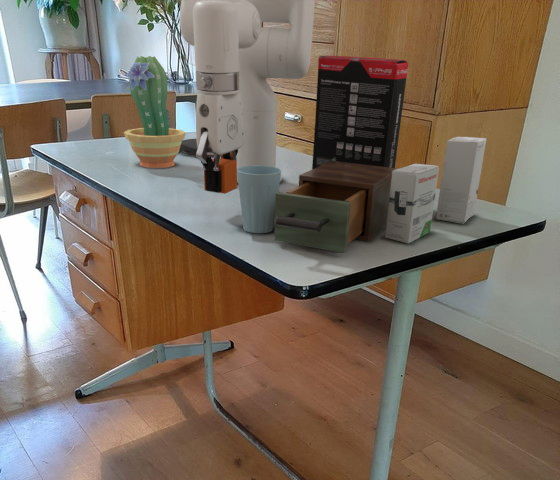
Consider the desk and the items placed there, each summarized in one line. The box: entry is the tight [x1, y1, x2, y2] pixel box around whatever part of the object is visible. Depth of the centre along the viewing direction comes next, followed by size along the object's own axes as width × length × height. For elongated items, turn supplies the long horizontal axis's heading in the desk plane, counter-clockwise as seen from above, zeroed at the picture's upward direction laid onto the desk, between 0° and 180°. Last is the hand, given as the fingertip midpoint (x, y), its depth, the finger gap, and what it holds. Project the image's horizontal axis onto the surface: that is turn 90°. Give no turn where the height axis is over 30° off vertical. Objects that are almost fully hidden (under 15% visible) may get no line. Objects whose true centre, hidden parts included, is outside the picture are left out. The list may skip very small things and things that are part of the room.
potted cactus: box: [123, 55, 186, 169], centre depth 148 cm, size 15×15×25 cm
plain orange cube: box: [203, 157, 238, 195], centre depth 112 cm, size 5×5×5 cm
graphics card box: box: [311, 55, 409, 170], centre depth 121 cm, size 17×7×27 cm, turn 59°
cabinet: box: [298, 161, 398, 242], centre depth 109 cm, size 16×14×10 cm
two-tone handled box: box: [274, 181, 369, 254], centre depth 98 cm, size 20×12×8 cm, turn 154°
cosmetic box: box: [435, 136, 488, 225], centre depth 114 cm, size 8×6×15 cm
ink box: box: [384, 163, 440, 244], centre depth 103 cm, size 9×5×12 cm, turn 141°
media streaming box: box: [178, 138, 213, 157], centre depth 170 cm, size 15×15×3 cm
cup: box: [237, 165, 282, 234], centre depth 104 cm, size 8×8×10 cm
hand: (220, 187), depth 113 cm, fingers closed on plain orange cube, 4 cm apart
